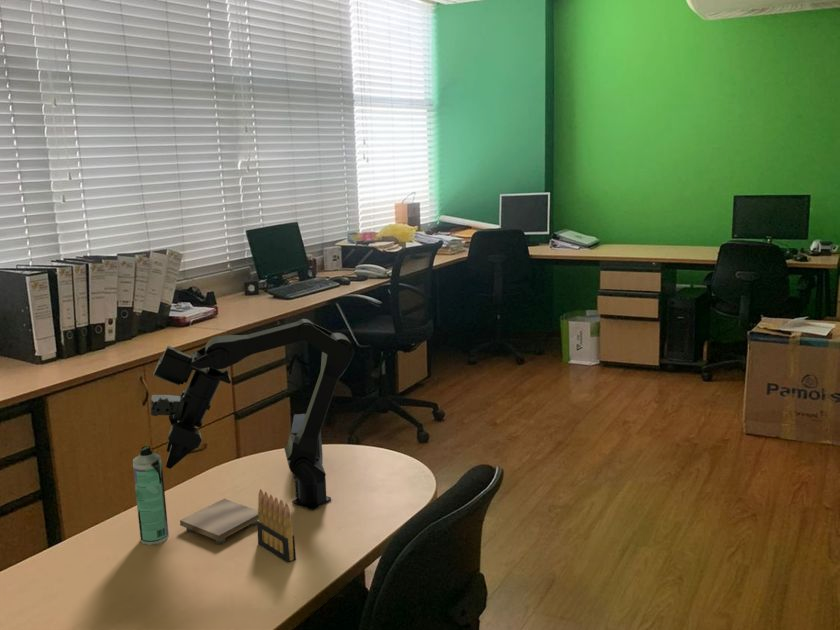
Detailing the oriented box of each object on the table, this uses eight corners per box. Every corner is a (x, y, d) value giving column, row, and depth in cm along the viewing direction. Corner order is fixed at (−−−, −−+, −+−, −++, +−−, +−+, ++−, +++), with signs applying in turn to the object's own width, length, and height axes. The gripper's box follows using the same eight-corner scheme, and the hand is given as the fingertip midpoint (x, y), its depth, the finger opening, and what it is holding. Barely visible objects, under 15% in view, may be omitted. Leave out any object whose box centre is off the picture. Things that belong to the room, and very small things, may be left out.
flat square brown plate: (263, 522, 166) (262, 512, 166) (219, 546, 157) (218, 535, 156) (225, 508, 173) (224, 498, 172) (181, 531, 163) (179, 520, 163)
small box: (295, 457, 200) (293, 413, 198) (322, 456, 201) (320, 412, 199) (293, 479, 188) (290, 432, 185) (321, 477, 188) (319, 430, 186)
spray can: (173, 532, 163) (164, 442, 158) (162, 545, 157) (152, 453, 153) (147, 531, 163) (138, 442, 159) (136, 544, 158) (126, 452, 154)
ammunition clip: (296, 559, 151) (293, 502, 149) (288, 563, 150) (285, 506, 147) (265, 540, 159) (262, 486, 156) (257, 544, 157) (254, 489, 155)
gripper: (163, 367, 170) (133, 431, 170) (161, 392, 152) (128, 463, 153) (211, 386, 173) (182, 448, 174) (215, 412, 156) (182, 481, 157)
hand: (168, 459), depth 164 cm, fingers open, 9 cm apart
